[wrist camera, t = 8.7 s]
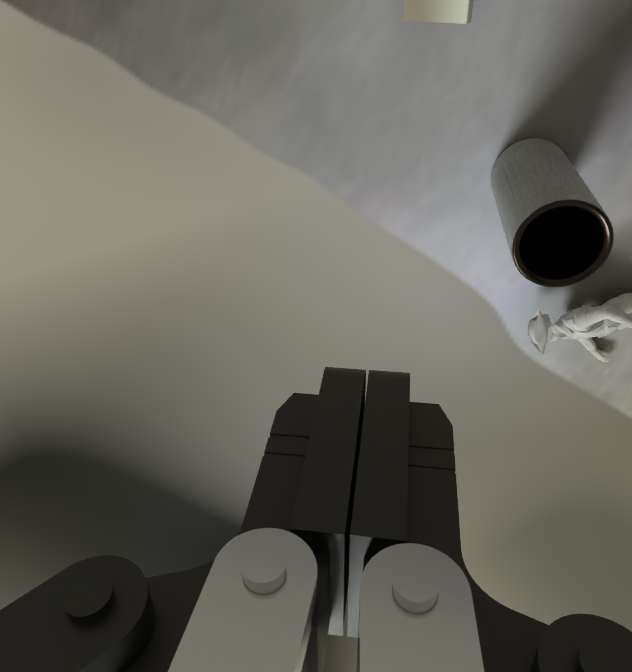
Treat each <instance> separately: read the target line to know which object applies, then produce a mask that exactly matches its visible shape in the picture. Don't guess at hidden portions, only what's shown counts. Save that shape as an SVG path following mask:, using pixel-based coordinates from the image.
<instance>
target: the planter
mask: <svg viewBox="0 0 632 672" xmlns="http://www.w3.org/2000/svg"><path fill="white" fill-rule="evenodd" d="M491 186H492V191H493V195H494V198H495V201H496V205H497V208H498V212H499V215H500V218H501V222H502V225H503V228H504V232H505V235H506V239H507V242H508V245H509V249H510V252H511V255H512V259H513V261H514V264H515V266H516V268H517V269H518V271H519V272H520V273H521V274H522V275H523V276H524V277H525V278H526V279H528V280H530V281H531V282H533V283H536V284H538V285H541V286H546V287H564V286H569V285H573V284H576V283H578V282H581V281H583V280H585V279H587V278H588V277H590V276H591V275H593V274H594V273H595V272H596V271H597V270H598V269H599V268H600V267H601V266H602V265H603V264H604V262H605V261H606V260H607V258H608V256H609V254H610V252H611V249H612V245H613V239H614V234H613V227H612V224H611V222H610V220H609V218H608V216H607V215H606V213H605V212H604V210H603V209H602V207H601V206H600V204H599V203H598V201H597V200H596V198H595V197H594V196H593V194H592V193H591V191H590V190H589V188H588V187H587V185H586V184H585V182H584V181H583V180H582V178H581V177H580V175H579V174H578V172H577V171H576V169H575V168H574V166H573V165H572V164H571V162H570V161H569V159H568V158H567V156H566V155H565V153H564V152H563V151H562V150H561V149H560V148H559V147H558V146H557V145H555V144H554V143H552V142H550V141H548V140H545V139H540V138H530V139H525V140H521V141H519V142H516V143H514V144H512V145H511V146H509V147H508V148H507V149H505V150H504V151H503V152H502V153H501V155H500V156H499V157H498V159H497V160H496V162H495V164H494V166H493V169H492V173H491Z"/></svg>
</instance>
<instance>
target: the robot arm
mask: <svg viewBox="0 0 632 672" xmlns="http://www.w3.org/2000/svg"><path fill="white" fill-rule="evenodd" d="M365 389H366V370H359V369H346V368H333V367H325V370H324V374H323V379H322V383H321V388H320V392H319V395H314V394H301V393H294V394H292V396H291V397H290V398H289V399H288V400H287V401H286V402H285V403H284V404H283V405H282V406H281V407H280V408H279V409H278V410H277V412H276V415H275V419H274V422H273V425H272V428H271V432H270V438H269V439H268V442H267V445H266V449H265V454H264V456H263V458H262V462H261V465H260V468H259V471H258V475H257V478H256V481H255V485H254V488H253V492H252V495H251V498H250V501H249V505H248V508H247V511H246V515H245V518H244V521H243V524H242V527H241V530H240V532H239V534H238V536H237V537H235V538H234V539H232V540H231V541H230V542H228V543H227V544H226V545H225V546H224V547H223V548H222V550H221V551H220V552H219V554H218V555H217V557H216V559H214V560H212V561H210V562H209V563H207V564H205V565H202V566H200V567H197V568H194V569H190V570H186V571H181V572H176V573H170V574H165V575H159V576H154V577H148V578H145V576H144V574H143V572H142V571H141V569H140V568H139V567H138V566H137V565H136V564H135V563H133V562H132V561H130V560H128V559H125V558H123V557H119V556H113V555H110V556H109V555H103V556H95V557H91V558H88V559H84V560H82V561H79V562H77V563H75V564H73V565H71V566H69V567H67V568H66V569H64V570H63V571H61V572H59V573H58V574H57V575H55V576H53V577H52V578H50V579H48V580H47V581H45V582H44V583H42V584H41V585H39V586H37V587H36V588H34V589H33V590H31V591H30V592H28V593H26V594H25V595H23V596H22V597H20V598H19V599H17V600H15V601H14V602H12V603H11V604H9V605H8V606H6V607H5V608H3V609H1V610H0V672H323V668H324V662H325V654H326V646H327V639H328V634H331V635H340V636H343V630H344V621H345V611H346V603H347V593H348V632H347V633H348V634H347V636H349V637H357V638H358V649H357V672H632V632H631V631H629V630H628V629H626V628H625V627H623V626H621V625H619V624H617V623H615V622H613V621H611V620H609V619H606V618H603V617H600V616H595V615H590V614H572V615H568V616H564V617H561V618H560V619H558V620H555V621H554V622H553V623H551V624H550V625H547V624H544V623H542V622H540V621H537V620H535V619H533V618H530V617H528V616H526V615H523V614H521V613H518V612H516V611H514V610H512V609H510V608H508V607H506V606H504V605H502V604H500V603H499V602H497V601H495V600H494V599H492V598H491V597H490V596H488V595H487V594H486V593H485V592H484V591H483V590H482V589H481V588H480V587H479V586H478V585H477V584H476V583H475V581H474V580H473V579H472V577H471V576H470V574H469V572H468V570H467V569H466V567H465V564H464V561H463V558H462V552H461V543H460V528H459V513H458V499H457V485H456V474H455V456H454V441H453V427H452V424H451V423H450V421H449V420H448V418H447V416H446V415H445V413H444V412H443V410H442V409H441V407H440V405H439V404H429V403H417V402H416V403H415V402H409V399H410V397H409V396H410V373H402V372H389V371H375V370H369V375H368V384H367V392H366V401H365ZM348 584H349V592H348Z"/></svg>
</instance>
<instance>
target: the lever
mask: <svg viewBox="0 0 632 672" xmlns="http://www.w3.org/2000/svg"><path fill="white" fill-rule="evenodd" d="M472 8H473V0H404V16H403V21H420V22H441V23H462V24H467V23H470V22H471V17H472Z"/></svg>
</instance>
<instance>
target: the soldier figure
mask: <svg viewBox="0 0 632 672" xmlns="http://www.w3.org/2000/svg"><path fill="white" fill-rule="evenodd" d="M555 321H556V320H555ZM550 326H552V329H553V331H554V332H555V333H556V334H557V335H558V336H560V337H561V338H563V339H565V340H566V339H578V340H579V341H580V342H581V343H582V344H583V345H584V346H585V347H586V348H587V349H588V350H589V351H591V353H592V354H593V355H595V356H596V358H598V359H599V360H601V361H604V362H609V361H611V360H608V359H611V358H606V357H604V356H603V355H602V354H601V352H604V351H601V350H598V349H596V348H595V347H596V344H595V342H594V341H593V339H592V338H591V337H596V336H597V337H599V338H600V337H603V336H606V335H609V333H611V332H615V331H618V330H621V329H623V328H626V327H629V328H632V293H625V294H621V295H619V296H617V297H615V298H612V299H610V300H608V301H607V302H605V303H604V304H602V305H601V306H597V305H582V307H580V308H576V309H574V310H568V311H567V313H566V314H564V315H563V316H562V317H561V318H560V319H559V320H558V321H557V322H555V323H554V324H552V323H551V322H550V318H549V316H548V314H544V315H542V314H541V312H540V311H538V312H537V313H536V314H535V316H533V317H532V318H530V321H529V325H528V335H529V338H530V340H531V341H532V343H533V345H534V346H535V348H536V349H537V350H538V351H539V352H540V353H541V354H542V355H543V354H544V351H545V346H546V342H547V333H548V329H549V327H550ZM556 334H555V335H556ZM552 335H553V334H552ZM552 335H551V336H552ZM556 339H557V336H554V337H553V338H551V341H555V340H556ZM606 359H607V360H606Z"/></svg>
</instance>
